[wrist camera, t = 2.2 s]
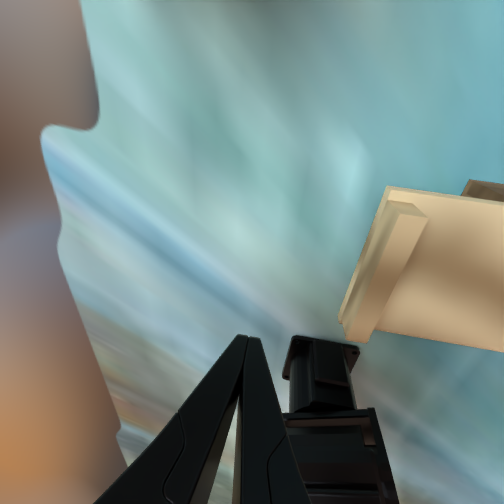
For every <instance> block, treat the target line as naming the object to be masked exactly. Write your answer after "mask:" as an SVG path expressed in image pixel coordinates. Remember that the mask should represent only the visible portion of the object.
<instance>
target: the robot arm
mask: <svg viewBox="0 0 504 504" xmlns="http://www.w3.org/2000/svg"><path fill="white" fill-rule="evenodd" d="M359 355H360V351H359V348H358V347H357V346H352V345H347V344H341V343H336V342H330V341H325V340H319V339H314V338H308V337H303V336H293V337H292V338H291V342H290V346H289V349H288V353H287V357H286V361H285V364H284V368H283V372H282V378H283V379H285V380H290V395H289V413H282V412H281V408H280V405H279V402H278V398H277V395H276V391H275V388H274V384H273V381H272V377H271V374H270V370H269V367H268V363H267V360H266V356H265V353H264V349H263V346H262V343H261V340H260V338H257V337H252V336H250V337H248V336H247V335H241V334H238V335H237V336H236V337H235V338H234V339H233V341H232V342H231V343H230V344H229V346H228V347H227V348H226V350H225V351H224V352H223V353H222V355H221V356H220V357H219V359H218V360H217V361H216V362H215V364H214V365H213V366H212V367H211V369H210V370H209V371H208V373H207V374H206V375H205V376H204V378H203V379H202V380H201V382H200V383H199V384H198V385H197V387H196V388H195V389H194V391H193V392H192V393H191V394H190V396H189V397H188V398H187V399H186V401H185V402H184V403H183V405H182V406H181V407H180V408H179V410H178V413H175V415H174V416H173V417H172V418H171V420H170V421H169V422H168V424H167V425H166V426H165V427H164V428H163V430H162V431H161V432H160V433H159V434H158V436H157V437H156V438H155V439H154V440H153V441H152V443H151V444H150V445H149V446H148V447H147V448H146V449H145V450H144V451H143V452H142V453H141V455H140V456H139V457H138V458H137V459H136V460H135V461H134V462H133V463H132V464H131V465H130V466H129V467H128V468H127V469H126V470H125V471H124V472H123V473H122V474H121V475H120V476H119V477H118V479H117V480H116V481H115V482H114V483H113V484H112V485H111V486H110V487H109V488H108V489H107V490H106V491H105V492H104V493H103V494H102V495H101V496H100V497H99V498H98V499H97V500H96V501H95V502H94V503H93V504H207V503H208V499H209V496H210V493H211V489H212V486H213V483H214V479H215V476H216V473H217V469H218V466H219V462H220V459H221V456H222V452H223V449H224V446H225V442H226V439H227V436H228V432H229V429H230V425H231V422H232V419H233V415H234V412H235V409H236V405H237V401H238V413H237V429H236V446H235V462H234V478H233V494H232V504H399V500H398V496H397V492H396V488H395V483H394V479H393V476H392V472H391V468H390V464H389V460H388V456H387V453H386V449H385V445H384V442H383V438H382V434H381V431H380V427H379V423H378V419H377V416H376V412H375V408H374V407H372V408H367V409H358V410H357V406H356V401H355V396H354V391H353V386H352V381H351V376H350V373H351V371H352V369H353V367H354V365H355V363H356V361H357V359H358V357H359ZM238 397H239V400H238Z"/></svg>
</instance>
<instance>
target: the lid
mask: <svg viewBox="0 0 504 504" xmlns="http://www.w3.org/2000/svg"><path fill="white" fill-rule="evenodd" d="M338 320H339V323H340V324H343V328H344V333H345V338H346V340H350V341H355V342H361V343H366V344H367V342H368V340H369V338H370V336H371V334H372V332H373V330H379V331H385V332H391V333H396V334H402V335H408V336H413V337H419V338H425V339H430V340H436V341H442V342H447V343H453V344H459V345H464V346H470V347H476V348H481V349H487V350H493V351H498V352H504V202H499V201H492V200H485V199H478V198H471V197H464V196H457V195H450V194H443V193H436V192H429V191H422V190H415V189H408V188H401V187H394V186H386V189H385V192H384V194H383V197H382V200H381V202H380V205H379V207H378V210H377V213H376V215H375V218H374V221H373V223H372V226H371V229H370V231H369V234H368V237H367V239H366V242H365V245H364V247H363V250H362V253H361V255H360V258H359V260H358V263H357V266H356V268H355V271H354V274H353V276H352V279H351V282H350V284H349V287H348V290H347V292H346V295H345V298H344V300H343V303H342V306H341V308H340V311H339V313H338Z"/></svg>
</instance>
